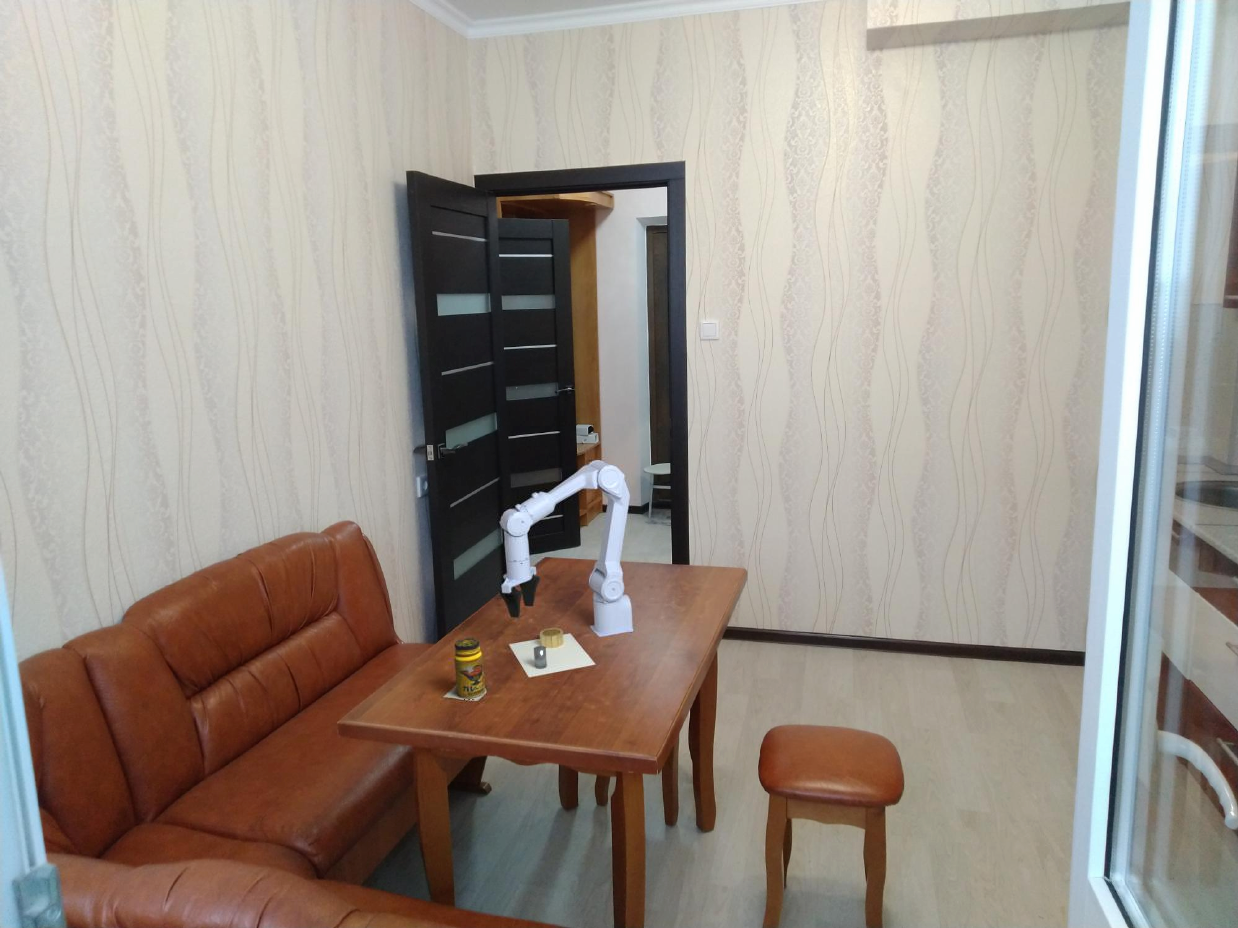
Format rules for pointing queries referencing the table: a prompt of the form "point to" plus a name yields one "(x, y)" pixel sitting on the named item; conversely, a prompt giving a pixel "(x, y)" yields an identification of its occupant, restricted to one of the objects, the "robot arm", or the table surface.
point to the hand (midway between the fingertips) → (522, 611)
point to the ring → (551, 638)
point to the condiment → (468, 671)
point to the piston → (540, 657)
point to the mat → (552, 656)
